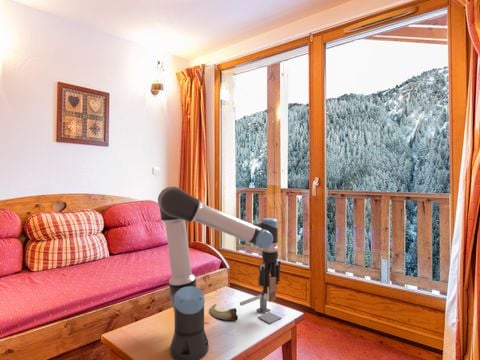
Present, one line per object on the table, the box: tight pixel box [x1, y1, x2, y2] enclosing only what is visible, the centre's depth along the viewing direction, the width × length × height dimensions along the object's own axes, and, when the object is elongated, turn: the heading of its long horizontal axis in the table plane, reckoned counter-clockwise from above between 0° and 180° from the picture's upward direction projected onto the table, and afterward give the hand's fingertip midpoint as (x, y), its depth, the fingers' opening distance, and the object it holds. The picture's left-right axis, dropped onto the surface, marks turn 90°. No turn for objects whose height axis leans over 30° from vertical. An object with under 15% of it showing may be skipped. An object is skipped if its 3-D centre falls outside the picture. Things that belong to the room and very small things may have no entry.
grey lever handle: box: [239, 290, 271, 315], centre depth 148 cm, size 18×5×10 cm, turn 132°
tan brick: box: [257, 274, 277, 303], centre depth 145 cm, size 8×4×11 cm, turn 43°
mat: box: [257, 311, 282, 325], centre depth 144 cm, size 8×8×1 cm
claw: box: [209, 303, 239, 321], centre depth 148 cm, size 20×10×3 cm, turn 52°
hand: (269, 298), depth 144 cm, fingers closed on tan brick, 4 cm apart
